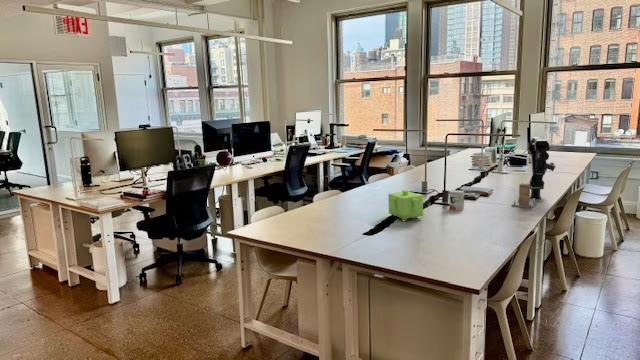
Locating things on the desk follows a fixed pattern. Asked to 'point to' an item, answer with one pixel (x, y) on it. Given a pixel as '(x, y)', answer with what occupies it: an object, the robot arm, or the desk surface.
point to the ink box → (456, 200)
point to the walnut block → (524, 193)
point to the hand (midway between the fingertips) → (540, 182)
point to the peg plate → (530, 205)
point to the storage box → (406, 204)
